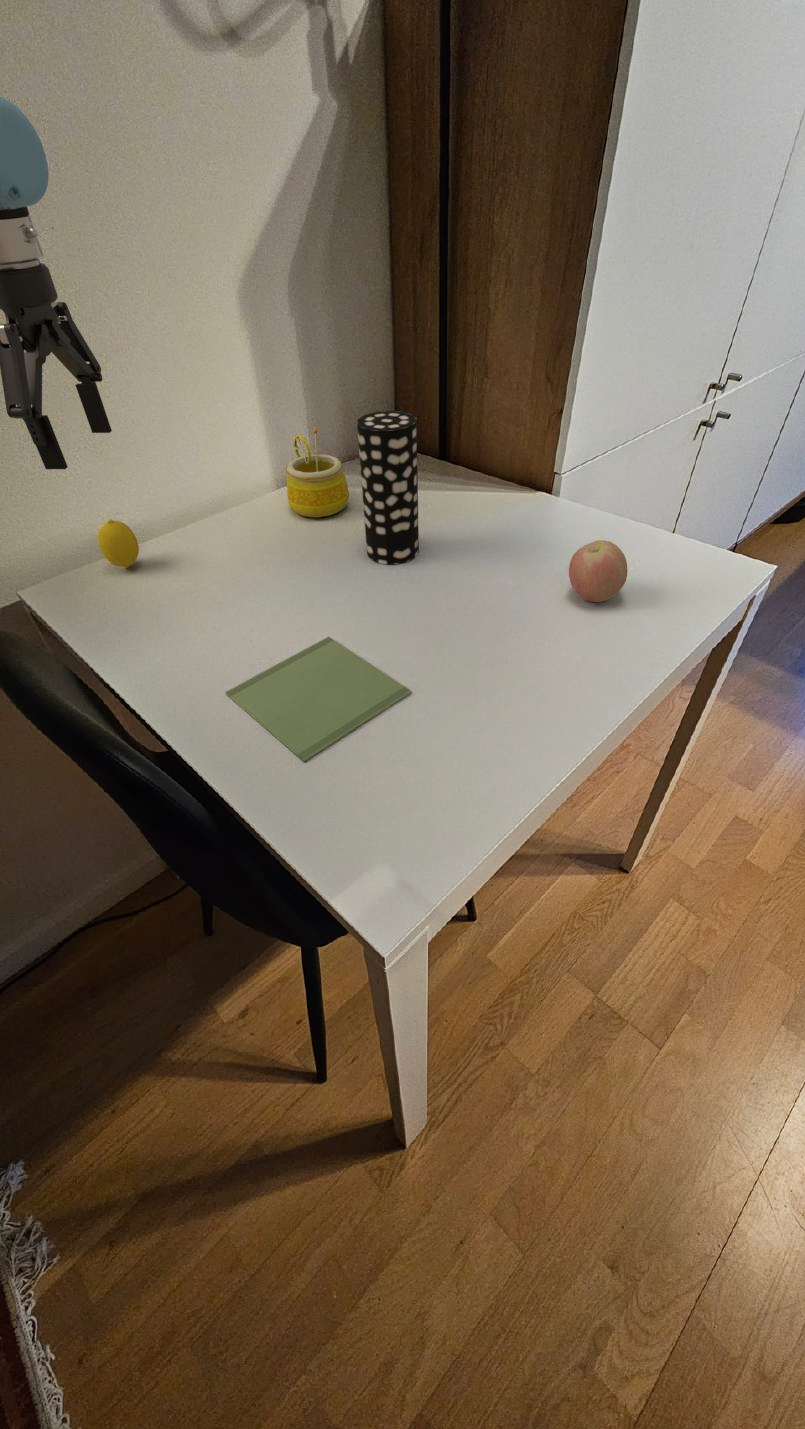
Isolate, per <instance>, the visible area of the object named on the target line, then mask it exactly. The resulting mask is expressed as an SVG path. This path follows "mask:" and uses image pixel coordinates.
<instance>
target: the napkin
mask: <svg viewBox="0 0 805 1429" xmlns="http://www.w3.org/2000/svg"><path fill="white" fill-rule="evenodd" d="M224 694H225V696H227V697H228V698H229V699H230V700H232V701H233V702H234V704H236V705H238V707H240V708H241V709H242V710H243V711H244V712H245V713H247V715H249V717H251V718H252V719H253V720H255V721H256V722H257V723H258V724H259V725H260V726H262V727H263V728H264V729H265V730H266V731H267V732H268V733H269V734H271V735H272V736H273V737H274V738H275V739H277V741H279V742H280V743H281V744H282V745H284V746H285V747H286V748H287V749H288V750H289V751H290V752H292V753H293V754H294V755H295V756H296V757H298V758H299V759H300V760H301V761H302V762H303V763H306V762H308V761H309V760H310V759H312V758H313V757H315V756H317V755H318V754H319V753H322V752H323V751H324V750H326V749H328V748H329V747H331V746H332V745H333V744H335V743H336V742H339V740H341V739H343V738H345V737H346V736H347V735H349V734H351V733H352V732H353V731H355V730H357V729H358V728H360V727H361V726H363V725H364V724H366V723H367V722H369V721H371V720H372V719H374V718H375V717H377V716H378V715H380V714H381V713H383V712H385V711H386V710H388V709H389V708H391V707H392V706H394V705H396V704H397V703H398V702H400V701H401V700H403V699H405V698H406V697H407V696H410V695H411V694H412V690H411V689H409V688H408V687H406V686H405V685H403V684H402V683H400V682H398V681H397V680H395V679H394V678H392V677H391V676H389V675H388V674H386V673H385V672H383V671H382V670H380V669H379V668H378V667H376V666H374V665H373V664H371V663H370V662H368V661H367V660H366V659H364V658H362V657H361V656H359V655H357V654H356V653H354V652H353V651H352V650H350V649H349V648H347V647H346V646H344V645H343V644H341V643H339V642H338V641H336V639H333V638H332V637H330V636H327V637H325V638H323V639H321V640H319V641H318V642H315V643H314V644H311V645H310V646H308V647H306V648H304V649H303V650H300V651H298V652H297V653H295V654H293V655H291V656H290V657H288V658H286V659H284V660H282V661H280V662H278V663H276V664H275V665H273V666H271V667H269V668H267V669H265V670H264V671H261V672H260V673H258V674H256V675H254V676H252V677H251V678H249V679H247V680H245V681H243V682H240V683H239V684H237V685H236V686H234V687H232V688H230V689H228V690H226V691H225V692H224Z"/></svg>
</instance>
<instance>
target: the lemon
mask: <svg viewBox="0 0 805 1429" xmlns="http://www.w3.org/2000/svg"><path fill="white" fill-rule="evenodd" d="M97 542H98V547H99V549H100V552H101V554H102V555H103V557H104V559H105V560H107V561H108V562H109V563H110V564H112V565H114V566H117V567H123V568H125V569H128V568H130V566H131V565H133V563H135V561H136V560H137V559H138V556H139V553H140V546H139V542H138V539H137V537H136V535H135V533H134V531H133V530H132V528H130V526H129V525H127V524H126V523H124V522H122V521H119V520H113V519H108V520H107V521H106V522H105V523H103V524H102V525H101V526H100V528H99V529H98V532H97Z"/></svg>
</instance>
